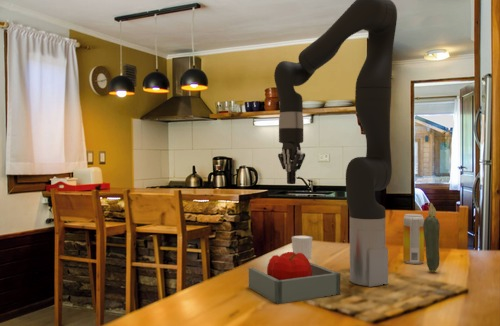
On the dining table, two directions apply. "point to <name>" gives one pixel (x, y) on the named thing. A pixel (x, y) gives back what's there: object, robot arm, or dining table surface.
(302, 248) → the white cylindrical piece
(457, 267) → the dining table surface
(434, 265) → the vegetable
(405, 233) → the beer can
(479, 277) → the dining table surface
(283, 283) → the crate
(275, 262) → the tomato
